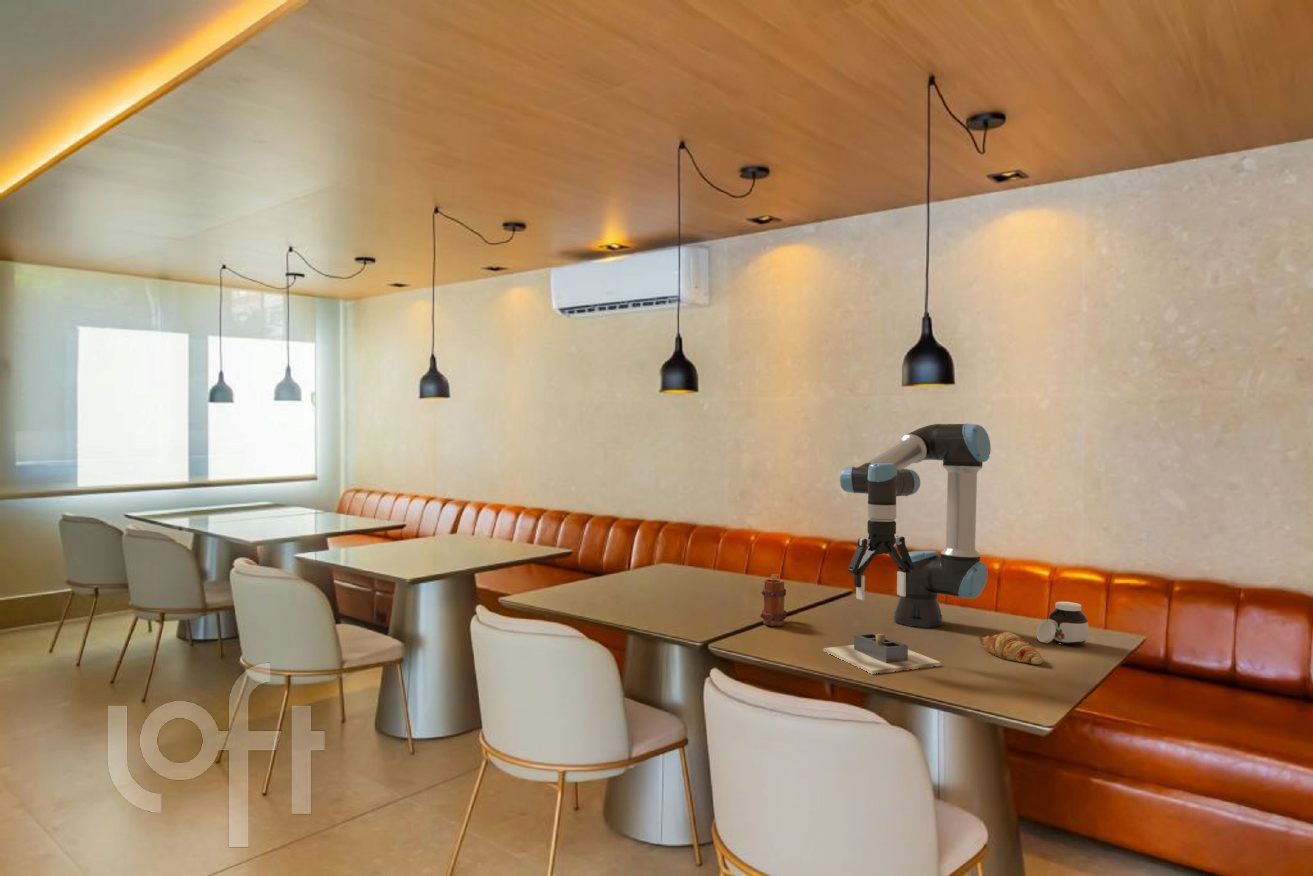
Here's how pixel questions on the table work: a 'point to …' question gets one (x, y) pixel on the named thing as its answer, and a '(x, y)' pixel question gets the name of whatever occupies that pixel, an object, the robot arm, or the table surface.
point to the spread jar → (1064, 625)
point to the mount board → (878, 666)
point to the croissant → (1011, 648)
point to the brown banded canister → (773, 601)
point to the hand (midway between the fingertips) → (881, 597)
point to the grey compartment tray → (881, 648)
